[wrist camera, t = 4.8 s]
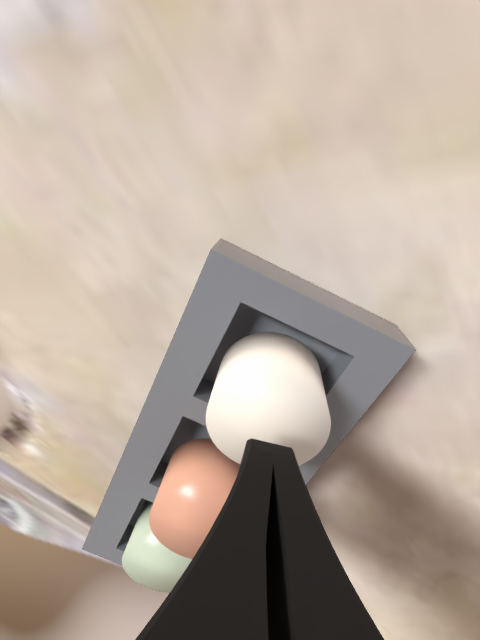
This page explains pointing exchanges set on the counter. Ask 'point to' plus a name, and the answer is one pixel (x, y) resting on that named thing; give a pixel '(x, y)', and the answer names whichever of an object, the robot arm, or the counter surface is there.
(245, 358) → the button cream
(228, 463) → the button terracotta
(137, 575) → the button sage
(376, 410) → the counter surface
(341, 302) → the grey slotted tray
